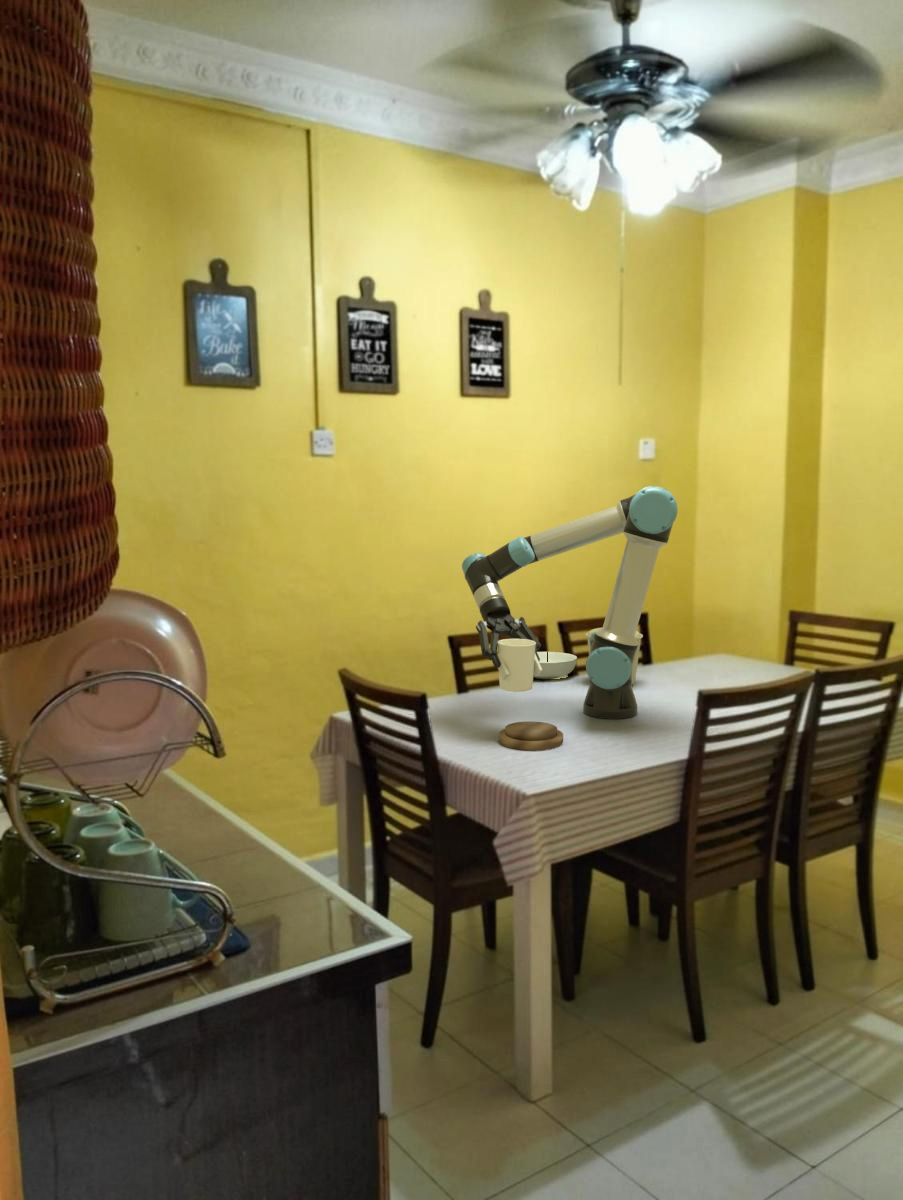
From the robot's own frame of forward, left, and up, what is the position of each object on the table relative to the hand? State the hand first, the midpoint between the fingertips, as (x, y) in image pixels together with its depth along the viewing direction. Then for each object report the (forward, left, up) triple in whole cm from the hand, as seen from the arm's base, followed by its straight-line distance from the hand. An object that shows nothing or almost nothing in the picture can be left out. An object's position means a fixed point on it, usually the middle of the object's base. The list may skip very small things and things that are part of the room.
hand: (522, 675), depth 233 cm
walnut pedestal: (-3, +3, -16) cm, 17 cm away
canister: (-10, -69, -17) cm, 72 cm away
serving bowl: (+14, -75, -17) cm, 79 cm away
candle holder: (+2, -2, -4) cm, 5 cm away
